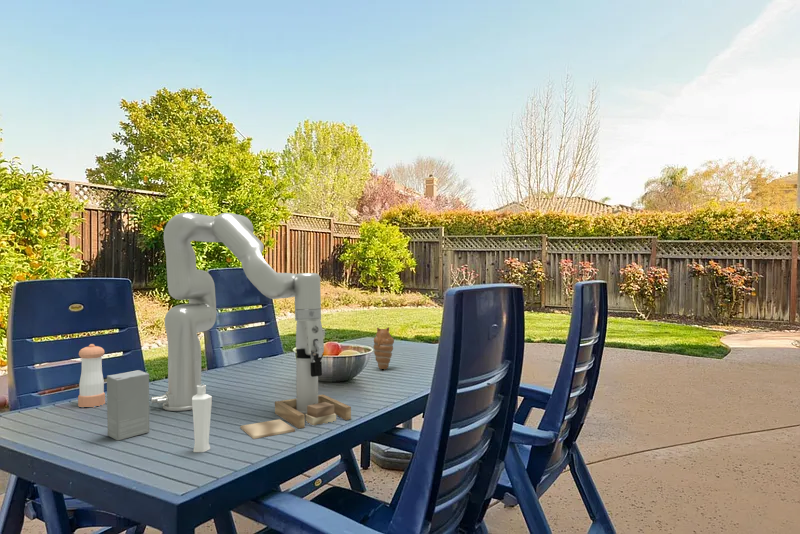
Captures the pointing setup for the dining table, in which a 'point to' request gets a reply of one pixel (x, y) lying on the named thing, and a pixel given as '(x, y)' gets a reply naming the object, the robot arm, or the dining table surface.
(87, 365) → the pepper shaker
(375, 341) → the cat ice cream
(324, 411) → the offcut upper
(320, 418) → the offcut lower
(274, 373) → the dining table surface
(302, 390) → the travel mug
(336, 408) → the frame
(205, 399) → the perfume bottle
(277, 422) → the cork mat
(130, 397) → the skincare box
